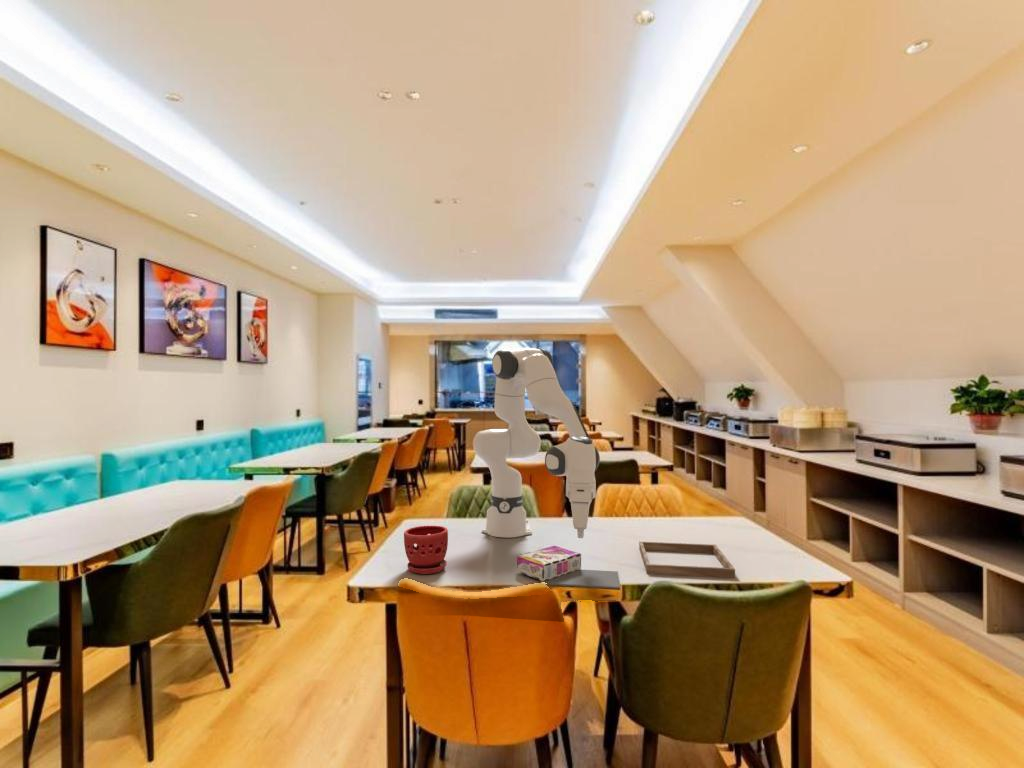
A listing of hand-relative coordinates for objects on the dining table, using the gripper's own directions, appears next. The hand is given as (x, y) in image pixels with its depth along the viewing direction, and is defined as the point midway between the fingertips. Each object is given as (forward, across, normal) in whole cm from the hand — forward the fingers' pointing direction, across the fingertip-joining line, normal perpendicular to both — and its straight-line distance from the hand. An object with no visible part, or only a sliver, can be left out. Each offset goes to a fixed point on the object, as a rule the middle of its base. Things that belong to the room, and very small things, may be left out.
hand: (580, 536), depth 167 cm
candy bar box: (+7, -4, -4) cm, 9 cm away
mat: (+10, +7, 0) cm, 12 cm away
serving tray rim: (+10, -13, +32) cm, 36 cm away
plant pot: (+10, +6, -46) cm, 48 cm away
